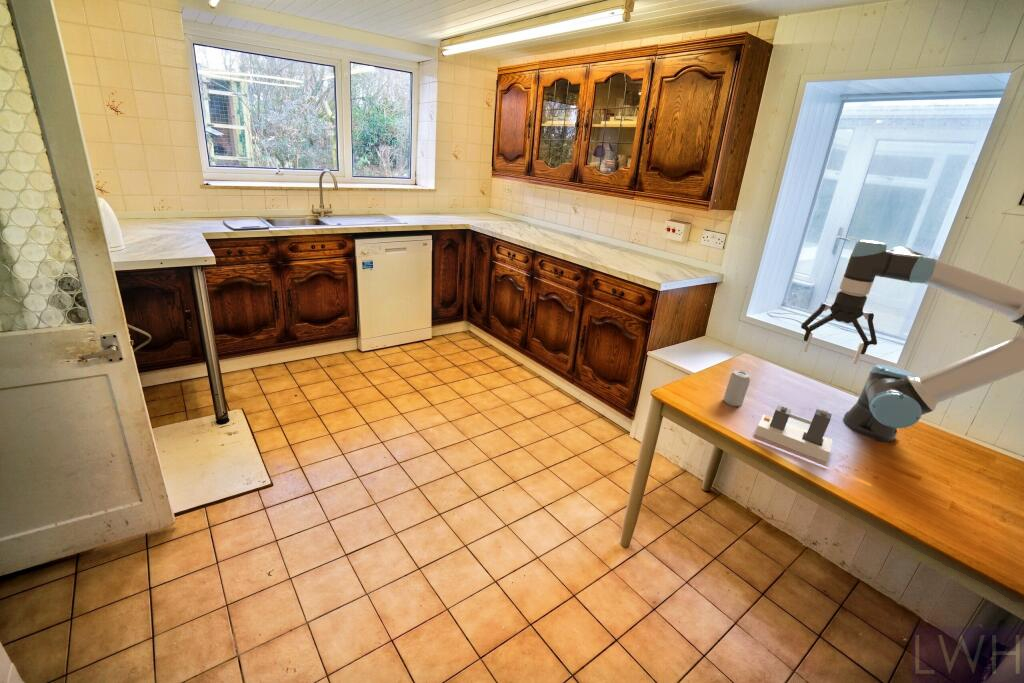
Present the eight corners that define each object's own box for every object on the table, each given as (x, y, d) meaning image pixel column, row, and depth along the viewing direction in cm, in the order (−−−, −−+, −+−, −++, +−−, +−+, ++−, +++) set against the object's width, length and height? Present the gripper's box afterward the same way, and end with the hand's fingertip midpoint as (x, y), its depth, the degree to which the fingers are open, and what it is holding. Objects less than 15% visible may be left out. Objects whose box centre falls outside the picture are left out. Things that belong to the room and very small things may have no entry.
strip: (828, 450, 149) (841, 420, 144) (825, 463, 142) (838, 432, 138) (759, 424, 159) (770, 396, 155) (754, 435, 152) (764, 406, 148)
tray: (823, 429, 160) (825, 425, 160) (820, 441, 153) (822, 438, 152) (784, 415, 167) (786, 411, 166) (780, 426, 159) (781, 423, 159)
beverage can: (743, 402, 173) (752, 373, 168) (740, 409, 167) (750, 379, 163) (724, 396, 175) (733, 367, 171) (721, 403, 170) (730, 373, 166)
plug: (817, 446, 148) (833, 411, 143) (816, 452, 145) (831, 416, 140) (803, 441, 150) (817, 406, 145) (801, 447, 147) (816, 411, 142)
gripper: (902, 299, 141) (875, 363, 149) (806, 281, 152) (786, 342, 160) (905, 305, 135) (877, 372, 143) (805, 286, 146) (785, 349, 154)
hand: (829, 356), depth 151 cm, fingers open, 13 cm apart
